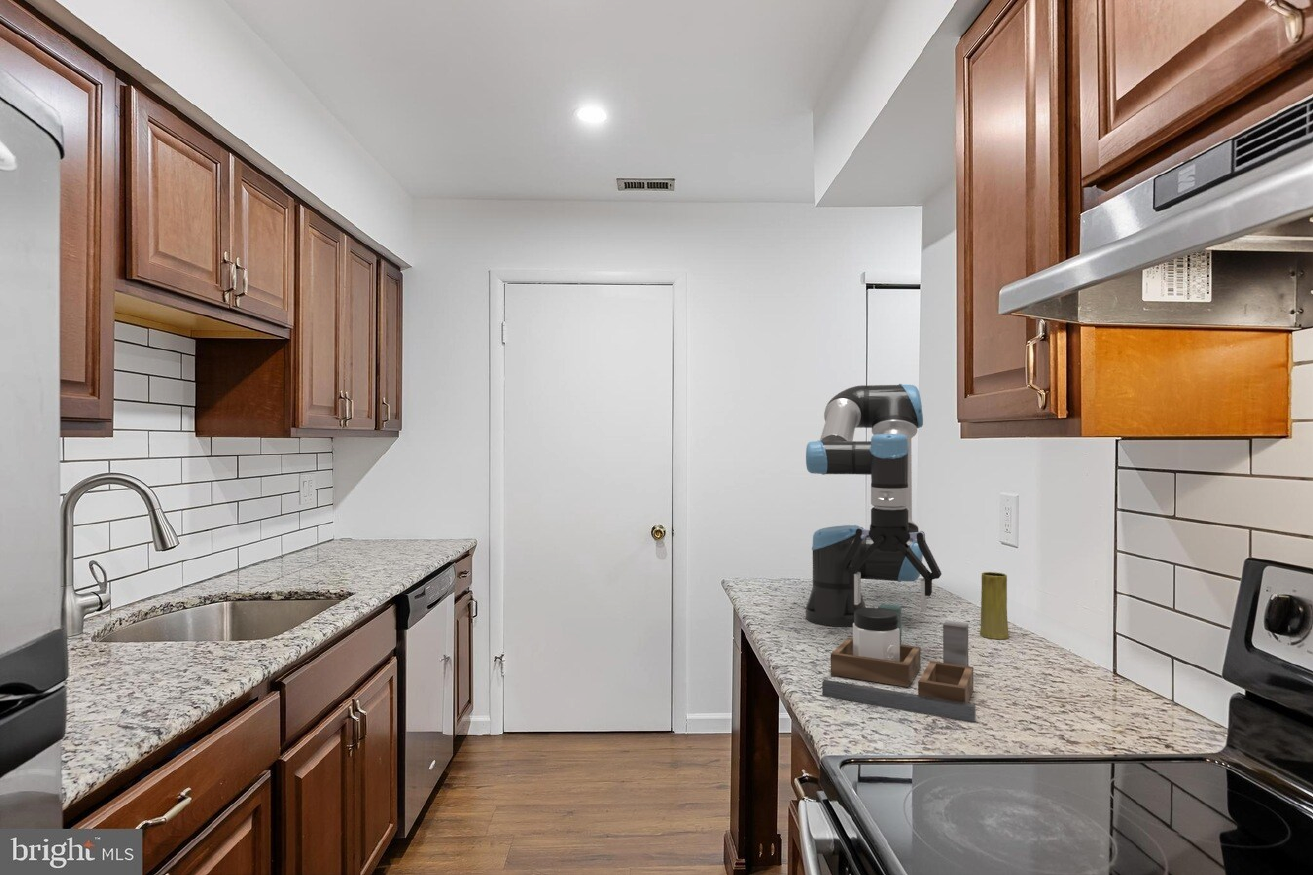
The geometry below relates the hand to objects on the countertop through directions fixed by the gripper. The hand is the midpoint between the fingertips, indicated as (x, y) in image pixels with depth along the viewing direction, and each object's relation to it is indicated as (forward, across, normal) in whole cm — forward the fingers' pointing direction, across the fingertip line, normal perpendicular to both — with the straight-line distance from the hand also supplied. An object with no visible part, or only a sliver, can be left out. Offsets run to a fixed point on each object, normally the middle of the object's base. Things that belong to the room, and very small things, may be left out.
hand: (889, 607), depth 154 cm
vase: (+11, +18, +25) cm, 33 cm away
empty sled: (+9, +14, -18) cm, 25 cm away
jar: (+10, 0, -15) cm, 18 cm away
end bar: (+9, +7, -31) cm, 33 cm away
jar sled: (+9, 0, -10) cm, 13 cm away
